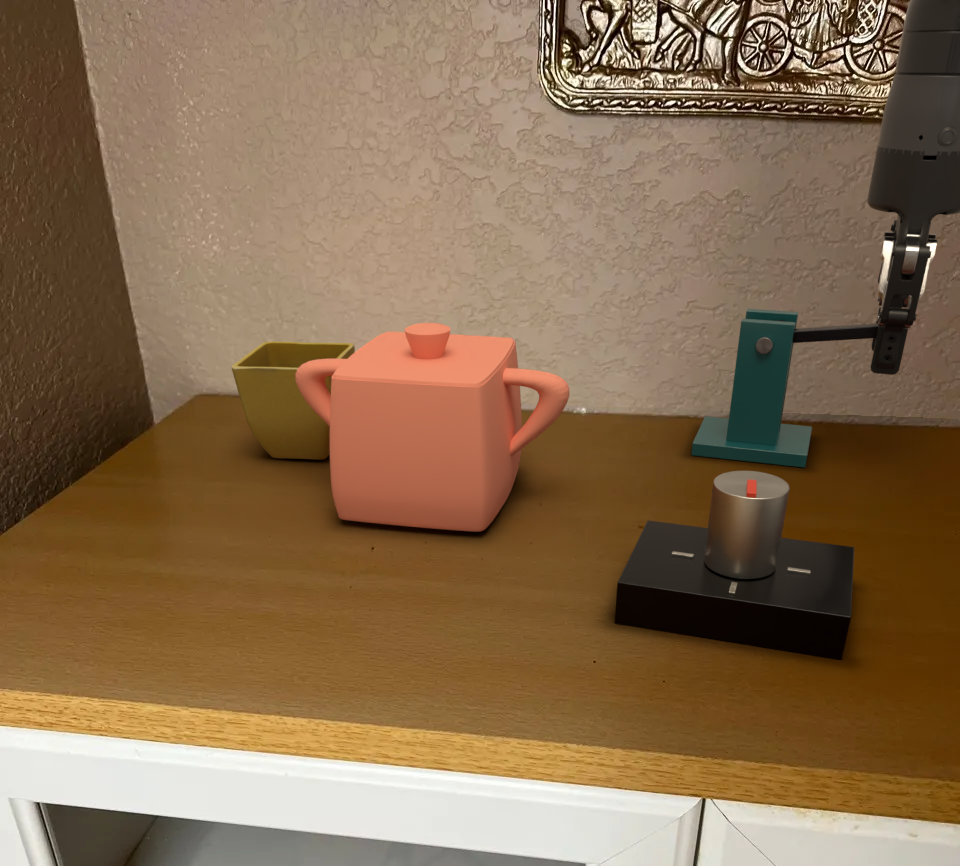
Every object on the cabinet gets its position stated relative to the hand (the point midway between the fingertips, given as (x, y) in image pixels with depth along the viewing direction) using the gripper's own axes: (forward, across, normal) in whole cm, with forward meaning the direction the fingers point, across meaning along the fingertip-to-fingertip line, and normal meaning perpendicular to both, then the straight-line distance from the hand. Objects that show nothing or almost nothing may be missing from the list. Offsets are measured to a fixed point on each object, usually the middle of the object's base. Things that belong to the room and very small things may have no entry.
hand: (883, 361), depth 83 cm
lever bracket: (+9, 0, -10) cm, 13 cm away
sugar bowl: (+9, +18, -34) cm, 39 cm away
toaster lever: (-1, 0, -5) cm, 5 cm away
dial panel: (+9, +31, -8) cm, 33 cm away
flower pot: (+9, +14, -49) cm, 52 cm away
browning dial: (+6, +31, -8) cm, 32 cm away
